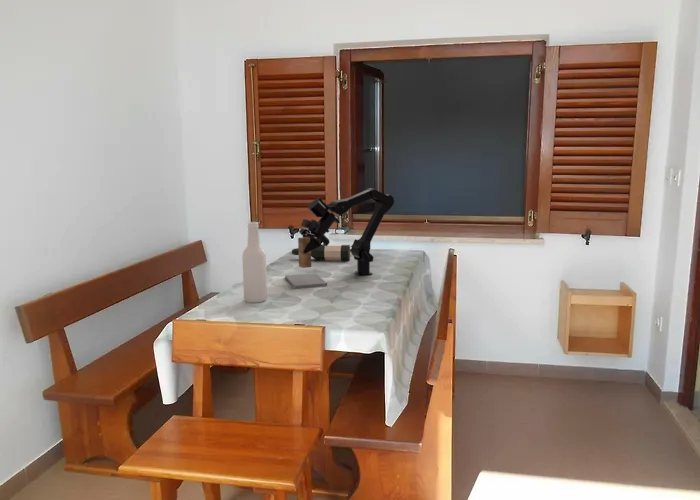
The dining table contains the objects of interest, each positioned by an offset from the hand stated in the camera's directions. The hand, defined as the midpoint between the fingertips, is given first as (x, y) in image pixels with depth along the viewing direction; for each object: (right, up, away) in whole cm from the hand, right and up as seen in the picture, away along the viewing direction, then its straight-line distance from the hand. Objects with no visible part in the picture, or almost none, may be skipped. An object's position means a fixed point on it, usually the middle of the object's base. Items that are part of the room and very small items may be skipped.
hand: (302, 251), depth 244 cm
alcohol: (-16, -19, -26) cm, 36 cm away
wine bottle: (+21, -1, +49) cm, 53 cm away
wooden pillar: (+1, -6, +2) cm, 7 cm away
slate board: (+1, -13, +3) cm, 13 cm away
